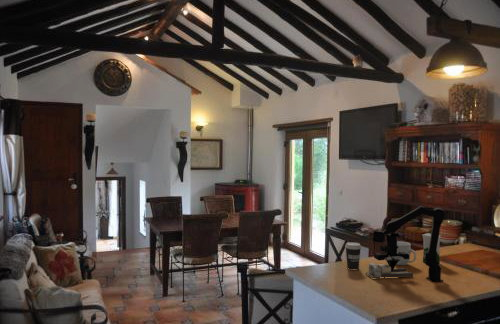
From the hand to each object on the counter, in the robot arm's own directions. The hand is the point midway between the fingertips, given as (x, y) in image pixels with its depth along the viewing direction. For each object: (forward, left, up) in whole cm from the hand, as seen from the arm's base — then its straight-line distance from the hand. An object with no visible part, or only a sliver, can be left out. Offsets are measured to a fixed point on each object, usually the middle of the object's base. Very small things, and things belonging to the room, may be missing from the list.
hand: (391, 271), depth 224 cm
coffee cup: (+15, +16, -3) cm, 23 cm away
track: (0, +1, -3) cm, 3 cm away
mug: (+19, -18, -3) cm, 26 cm away
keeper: (0, +4, -1) cm, 5 cm away
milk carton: (+19, -37, -3) cm, 41 cm away
